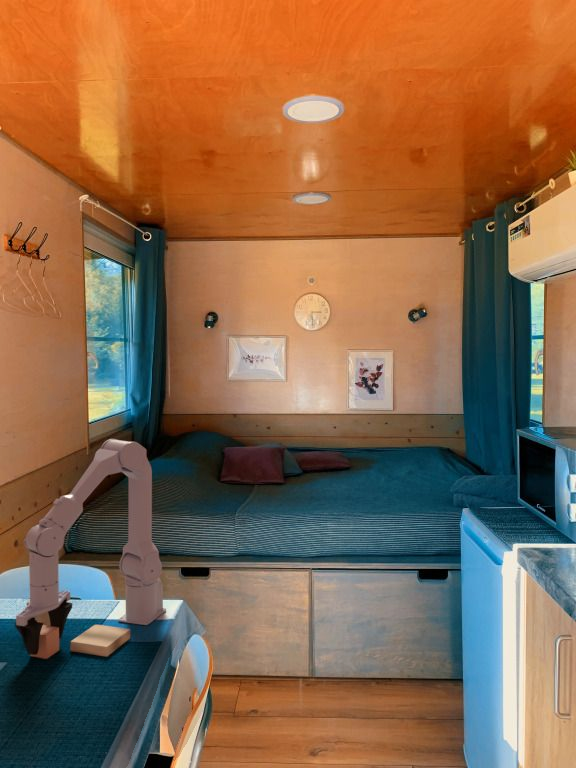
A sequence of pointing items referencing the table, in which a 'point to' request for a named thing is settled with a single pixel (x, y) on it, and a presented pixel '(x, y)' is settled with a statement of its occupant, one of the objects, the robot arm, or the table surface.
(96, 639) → the birch block
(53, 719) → the table surface
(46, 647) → the terracotta block
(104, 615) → the table surface
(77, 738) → the table surface
